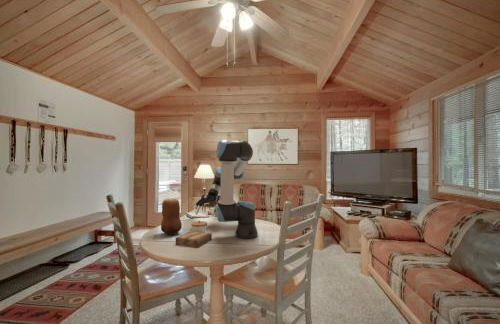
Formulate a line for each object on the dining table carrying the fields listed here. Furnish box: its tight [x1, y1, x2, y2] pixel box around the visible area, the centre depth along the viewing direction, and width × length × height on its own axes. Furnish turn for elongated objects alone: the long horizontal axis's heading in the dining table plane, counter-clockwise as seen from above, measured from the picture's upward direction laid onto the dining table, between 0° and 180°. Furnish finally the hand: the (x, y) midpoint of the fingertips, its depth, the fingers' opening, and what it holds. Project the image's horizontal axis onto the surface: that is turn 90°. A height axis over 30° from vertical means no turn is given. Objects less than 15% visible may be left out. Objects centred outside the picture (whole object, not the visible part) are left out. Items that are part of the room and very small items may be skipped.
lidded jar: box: [190, 220, 208, 233], centre depth 179 cm, size 11×11×9 cm
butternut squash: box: [160, 198, 183, 236], centre depth 179 cm, size 14×13×25 cm
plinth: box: [175, 230, 213, 249], centre depth 162 cm, size 16×16×4 cm
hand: (204, 214), depth 187 cm, fingers open, 13 cm apart
